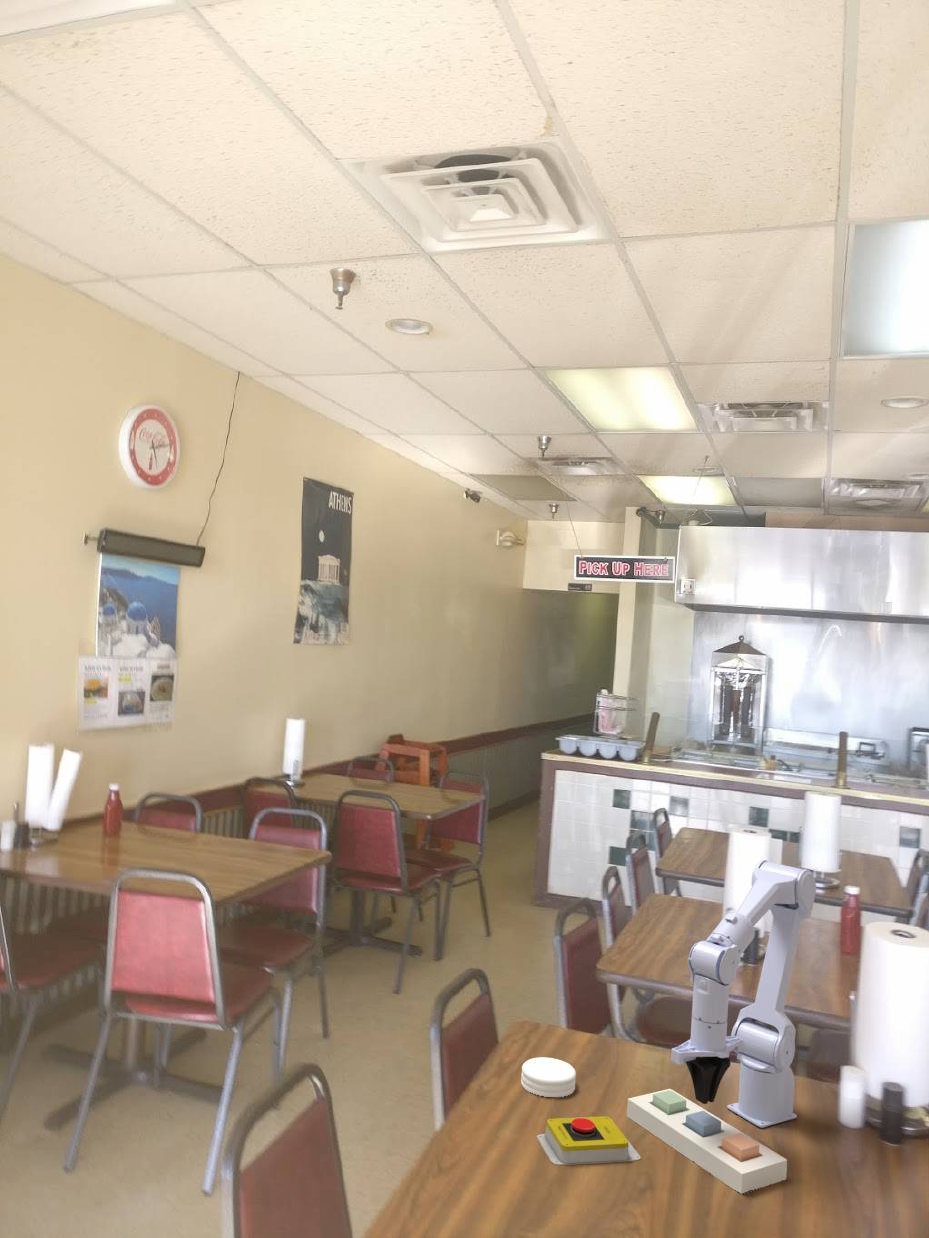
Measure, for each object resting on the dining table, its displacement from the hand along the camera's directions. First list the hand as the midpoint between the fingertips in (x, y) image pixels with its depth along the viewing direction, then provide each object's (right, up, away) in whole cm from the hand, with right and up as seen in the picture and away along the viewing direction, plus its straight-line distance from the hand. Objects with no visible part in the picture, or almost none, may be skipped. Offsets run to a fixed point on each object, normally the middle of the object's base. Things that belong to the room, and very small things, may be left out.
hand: (704, 1100), depth 156 cm
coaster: (-24, -7, +18) cm, 31 cm away
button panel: (0, -7, 0) cm, 7 cm away
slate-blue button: (0, -6, 0) cm, 6 cm away
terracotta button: (+4, -6, -7) cm, 10 cm away
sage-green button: (-4, -6, +7) cm, 10 cm away
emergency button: (-20, -7, -3) cm, 21 cm away
